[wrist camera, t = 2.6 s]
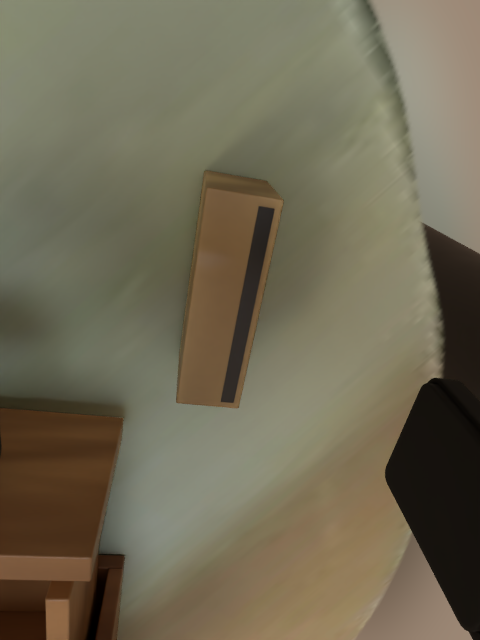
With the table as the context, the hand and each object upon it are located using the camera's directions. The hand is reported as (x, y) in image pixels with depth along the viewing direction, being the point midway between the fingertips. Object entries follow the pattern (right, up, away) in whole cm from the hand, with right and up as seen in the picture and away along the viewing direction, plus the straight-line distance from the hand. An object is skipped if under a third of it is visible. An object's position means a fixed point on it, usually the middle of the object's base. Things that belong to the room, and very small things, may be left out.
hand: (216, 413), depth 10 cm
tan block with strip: (0, +4, +8) cm, 9 cm away
